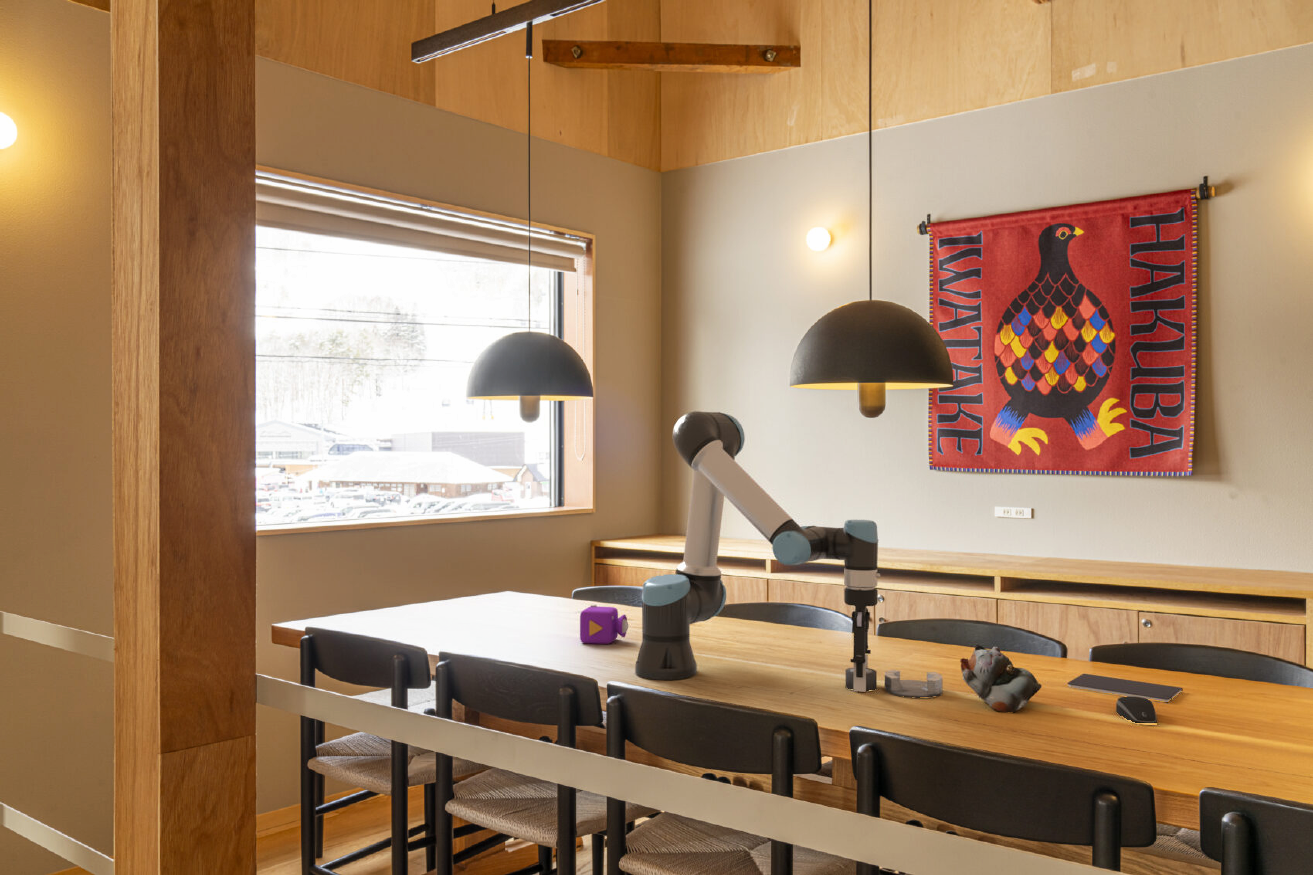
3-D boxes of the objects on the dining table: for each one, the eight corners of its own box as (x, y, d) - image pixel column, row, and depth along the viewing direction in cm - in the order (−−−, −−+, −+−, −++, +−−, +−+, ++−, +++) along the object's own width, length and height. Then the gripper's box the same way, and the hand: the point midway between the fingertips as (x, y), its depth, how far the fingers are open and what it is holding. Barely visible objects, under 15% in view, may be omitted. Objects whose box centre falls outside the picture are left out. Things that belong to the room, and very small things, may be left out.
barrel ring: (941, 686, 219) (941, 670, 219) (943, 700, 207) (942, 683, 207) (885, 682, 222) (885, 667, 222) (883, 696, 210) (883, 679, 210)
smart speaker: (867, 693, 213) (867, 675, 213) (839, 688, 217) (839, 671, 217) (882, 687, 218) (881, 670, 218) (854, 683, 223) (854, 665, 223)
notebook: (1182, 694, 213) (1083, 679, 227) (1182, 687, 213) (1083, 673, 227) (1168, 706, 204) (1066, 689, 218) (1168, 698, 204) (1066, 683, 218)
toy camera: (627, 645, 265) (627, 610, 265) (578, 645, 265) (579, 609, 265) (629, 638, 276) (629, 603, 276) (582, 637, 276) (582, 603, 276)
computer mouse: (1127, 726, 188) (1127, 706, 188) (1110, 709, 200) (1110, 690, 200) (1166, 728, 187) (1165, 707, 187) (1146, 711, 199) (1146, 692, 199)
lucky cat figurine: (1012, 717, 193) (977, 654, 196) (972, 726, 203) (939, 666, 206) (1053, 685, 202) (1019, 626, 204) (1012, 696, 211) (980, 639, 214)
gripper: (875, 594, 207) (875, 699, 207) (879, 581, 227) (879, 677, 226) (840, 593, 209) (840, 696, 209) (847, 580, 229) (847, 675, 228)
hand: (860, 686), depth 218 cm, fingers open, 8 cm apart
